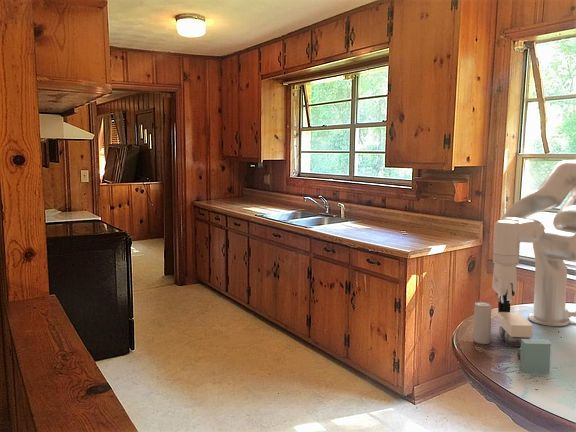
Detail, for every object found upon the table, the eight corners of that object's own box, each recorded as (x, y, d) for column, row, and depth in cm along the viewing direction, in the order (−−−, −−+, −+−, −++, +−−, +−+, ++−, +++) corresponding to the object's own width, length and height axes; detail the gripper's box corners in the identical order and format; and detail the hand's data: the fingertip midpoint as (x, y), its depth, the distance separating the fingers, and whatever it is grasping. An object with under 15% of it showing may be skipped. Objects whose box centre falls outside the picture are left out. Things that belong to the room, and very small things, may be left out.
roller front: (525, 343, 147) (525, 330, 146) (529, 348, 143) (530, 335, 142) (504, 342, 148) (504, 330, 147) (508, 348, 144) (509, 335, 143)
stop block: (545, 368, 130) (546, 339, 129) (549, 373, 127) (550, 343, 126) (519, 367, 131) (521, 339, 130) (523, 372, 128) (525, 343, 127)
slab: (518, 323, 153) (518, 312, 152) (532, 337, 141) (532, 325, 141) (498, 322, 154) (498, 312, 153) (510, 336, 142) (511, 325, 141)
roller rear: (518, 336, 152) (519, 324, 152) (523, 341, 148) (523, 329, 148) (498, 336, 153) (499, 324, 153) (502, 341, 149) (503, 328, 149)
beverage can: (491, 345, 146) (492, 306, 145) (474, 344, 147) (475, 306, 146) (488, 339, 151) (489, 301, 149) (472, 338, 152) (473, 301, 150)
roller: (538, 351, 137) (542, 347, 134) (541, 364, 134) (545, 359, 132) (516, 351, 137) (519, 346, 134) (518, 363, 135) (522, 359, 132)
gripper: (487, 254, 163) (485, 306, 165) (500, 264, 148) (498, 321, 150) (510, 254, 162) (508, 307, 164) (526, 264, 147) (524, 322, 149)
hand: (504, 314), depth 157 cm, fingers closed
